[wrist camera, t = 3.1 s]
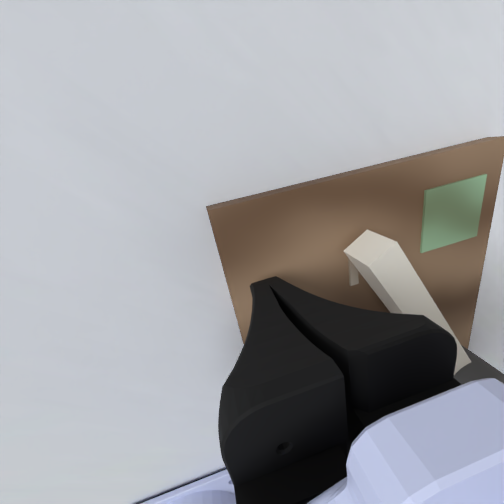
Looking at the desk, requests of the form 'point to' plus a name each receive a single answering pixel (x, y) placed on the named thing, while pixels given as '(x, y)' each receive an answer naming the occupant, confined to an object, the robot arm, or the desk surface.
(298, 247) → the board
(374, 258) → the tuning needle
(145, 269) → the desk surface
